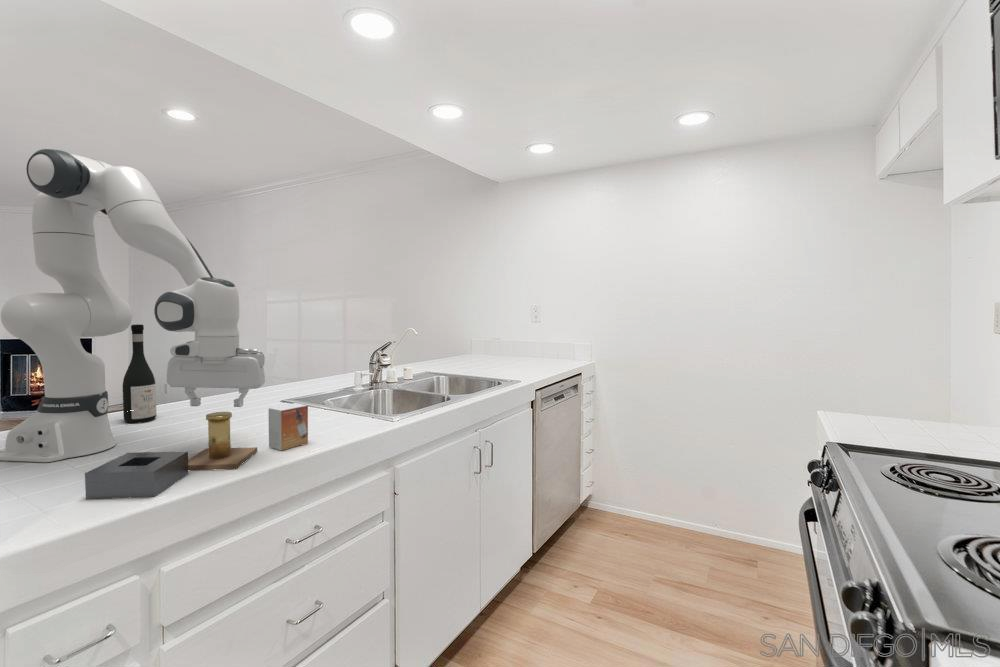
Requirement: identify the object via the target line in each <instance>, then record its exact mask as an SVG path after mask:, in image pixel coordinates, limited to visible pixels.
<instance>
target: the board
mask: <svg viewBox="0 0 1000 667" xmlns="http://www.w3.org/2000/svg"><path fill="white" fill-rule="evenodd" d="M256 452H257V453H258V447H257V446H255V447H231V455H230V456H228V457H226V458H221V459H210V458H209V447H208V448H207V447H206V448H205V449H203V450H201V451H199V452H198V453H197V454H195V455H193V456H192V457H190V458H188V470H190V471H214V469H227V470H237V469H238V467H239V466H240V465H241V464H242V463H243V462H245V461H246V460H247V459H248V460H250V459H251V458H252V457H253V456H255V455H256V454H257V453H256ZM255 453H256V454H255ZM252 455H253V456H252ZM251 456H252V457H251ZM250 457H251V458H250ZM249 458H250V459H249ZM248 460H247V461H248ZM247 461H246V462H247ZM246 462H245V463H246ZM243 464H244V463H243ZM243 464H242V465H243ZM242 465H241V466H242ZM241 466H240V467H241ZM240 467H239V468H240ZM236 468H237V469H236Z"/></svg>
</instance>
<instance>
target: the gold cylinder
mask: <svg viewBox="0 0 1000 667" xmlns="http://www.w3.org/2000/svg"><path fill="white" fill-rule="evenodd" d="M232 417H233V413H232V412H231V411H216V412H211V413H208V414H206V415H205V420H206V421H207V424H208V425H207V428H208V430H207V431H208V437H207V438H208V448H209V458H210V459H221V458H226V457H228V456H230V455H231V448H232V445H231V418H232Z"/></svg>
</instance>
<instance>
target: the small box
mask: <svg viewBox="0 0 1000 667" xmlns="http://www.w3.org/2000/svg"><path fill="white" fill-rule="evenodd" d="M308 408H309V406H308V405H307V404H303V403H298V402H294V403H289V404H285V405H279V406H275V407H268V448H270V447H271V448H270V449H274V448H275V449H274V450H277V449H278V451H281V450H282V451H284V450H287V449H291V448H296V447H300V446H299V445H301V446H303V445H302V444H305V445H307V444H306V443H308V444H309V409H308ZM295 446H296V447H295Z"/></svg>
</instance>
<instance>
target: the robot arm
mask: <svg viewBox="0 0 1000 667" xmlns="http://www.w3.org/2000/svg"><path fill="white" fill-rule="evenodd" d="M26 176H27V179H28V181H29V183H30V184H31V186H32V187H33V188H34V189H36V190H37V191H39V193H37V194H36V196H35V198H34V202H33V208H32V217H31V218H32V219H31V221H32V222H31V224H32V227H31V231H32V240H33V247H34V248H33V249H34V250H33V251H34V257H35V258H34V260H35V264H36V266H37V268H38V269H39V271H40V272H42V273H43V274H45V276H46V275H47V276H49V277H51V278H52V279H54V280H55V281H56V282H58V284H59V285H60V286H61V288H62V290H63V292H59V293H58V292H34V293H28V294H22V295H14V296H12V297H10V298H9V299H8V300H7V301H6V302H5V303H4V304H3V306H2V309H1V311H0V321H1V324H2V326H3V327H4V329H5V330H6V331H7V333H9V334H10V335H12V336H14V337H15V338H17V339H19V340H21V341H23V343H25V344H26V345H27V346H29V347H30V348H31V350H32V351H33V352H34V353H35V355H36V357H38V358H37V359H38V360H39V362H40V365H41V368H42V370H41V371H42V375H43V377H42V378H43V385H44V386H43V387H44V396H42V397H41V398H39V399H35V400H31V402H32V404H31V406H37V405H38V407H37V409H36V412H35V413H33V414H32V415H30V416H29V417H28V418H26V419H24V420H23V421H22V422H20V423H19V424H17V425H16V426H14V427H13V428H11V429H10V430H9V431H8V433H7V435H6V438H5V444H4V445H5V446H4V447H5V448H2V449H1V450H0V461H5V462H6V461H7V462H8V461H10V462H29V463H30V462H31V463H49V462H51V463H52V462H55V461H56V462H57V461H61V460H64V459H69V458H75V457H76V458H77V457H81V456H88V455H92V454H96V453H100V452H103V451H105V450H108V449H111V448H113V447H115V446H116V445H117V442H116V441H115V438H114V436H113V433H112V430H111V426H110V421H109V416H108V411H109V392H108V391H107V390H106V374H105V373H106V371H105V370H106V368H105V363H104V361H103V360H102V358H100V357H98V356H97V355H95V354H93V353H90V352H88V351H86V350H85V348H84V347H83V345H82V342H81V338H95V337H98V338H99V337H106V336H110V335H114V334H115V335H116V334H118V333H122V332H125V331H126V330H128V328H129V327H130V326H131V325H132V321H133V311H132V308H131V306H130V304H129V303H128V302H127V301H126V300H125V299H124V298H122V297H120V296H119V295H118V294H116V293H115V291H114V290H113V289H112V288H111V287H110V285H109V284H108V283H107V281H106V280H105V278H104V276H103V273H102V271H101V267H100V264H99V258H98V251H97V244H96V235H95V227H94V218H95V216H96V215H97V214H98V212H101V213H102V214H104V215H106V216H107V217H108V219H109V221H110V223H111V225H112V228H113V229H114V231H115V232H116V234H117V235H118V236H119V238H120V239H121V240H122V241H123V242H124V243H125V244H126V245H128V246H130V247H132V248H134V249H136V250H138V251H141V252H144V253H147V254H149V255H152V256H154V257H156V258H158V259H160V260H163V261H164V262H167V263H168V264H170V265H171V266H172V267H173V268H174V269H176V271H177V272H178V273H179V275H180V276H181V278H182V280H183V281H184V283H185V284H186V286H185V287H183V288H179V289H176V290H171V291H166V292H164V293H162V294H161V295H160V296H159V297H158V298H157V300H156V301H155V305H154V309H153V310H154V317H155V321H156V322H157V323H158V325H159V326H160V327H161V328H162V329H164V330H166V331H169V332H174V333H175V332H176V333H182V332H184V333H185V332H192V333H193V332H194V340H191V341H187V342H185V343H181V344H177V345H174V346H172V347H171V348H170V351H169V352H170V356H171V357H170V359H169V360H168V363H167V366H166V367H167V368H166V369H167V370H166V383H167V384H168V386H170V387H171V388H184V393H185V394H186V396H187V398H188V400H189V402H190V403H189V405H190V407H199V406H201V404H202V402H201V401H202V398H201V397H198V396H197V394H196V392H195V391H196V390H197V389H198V388H202V389H203V388H204V389H210V388H212V389H238V393H239V396H238V397H237V398H235V399H233V407H234V408H242V407H243V406H244V399H245V397H246V396H247V394H248V393H249V390H250V389H251V390H252V389H253V390H254V389H257V390H258V389H259V388H261V387H262V386H264V385H265V383H266V377H265V376H266V375H265V368H264V366H265V354H264V353H263V352H262V351H261V350H259V349H257V348H240V332H239V328H238V323H239V319H240V296H239V292H238V288H237V286H236V284H234V283H233V282H232V281H229V280H228V279H227V280H226V279H222V278H216V277H214V276H213V275H212V273H211V271H210V270H209V268H208V266H207V264H206V263H205V261H204V260H203V258H202V256H200V253H199V252H198V250H197V249H196V248H195V246H194V245H193V244H192V242H191V241H190V240H189V239H188V237H186V236H185V235H184V234H183V233H182V232H181V231H180V229H179V228H178V227H177V225H176V224H175V223H174V221H173V220H172V218H171V217H170V215H169V214H168V212H167V210H166V209H165V206H164V204H163V202H162V199H161V198H160V196H159V195H158V193H157V192H156V190H155V188H154V187H153V185H152V184H151V182H150V180H148V179H147V177H146V176H145V175H144V174H143V173H142V172H141V171H140V170H138V169H136V168H134V167H132V166H127V165H111V164H109V163H106V162H104V161H101V160H99V159H95V158H91V157H86V156H83V155H78V154H73V153H69V152H68V151H64V150H60V149H50V148H43V149H38V150H37V151H35V152H34V153H33V154H32V155H31V156H30V157H29V158H28V161H27V163H26ZM33 402H34V403H33Z"/></svg>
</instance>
